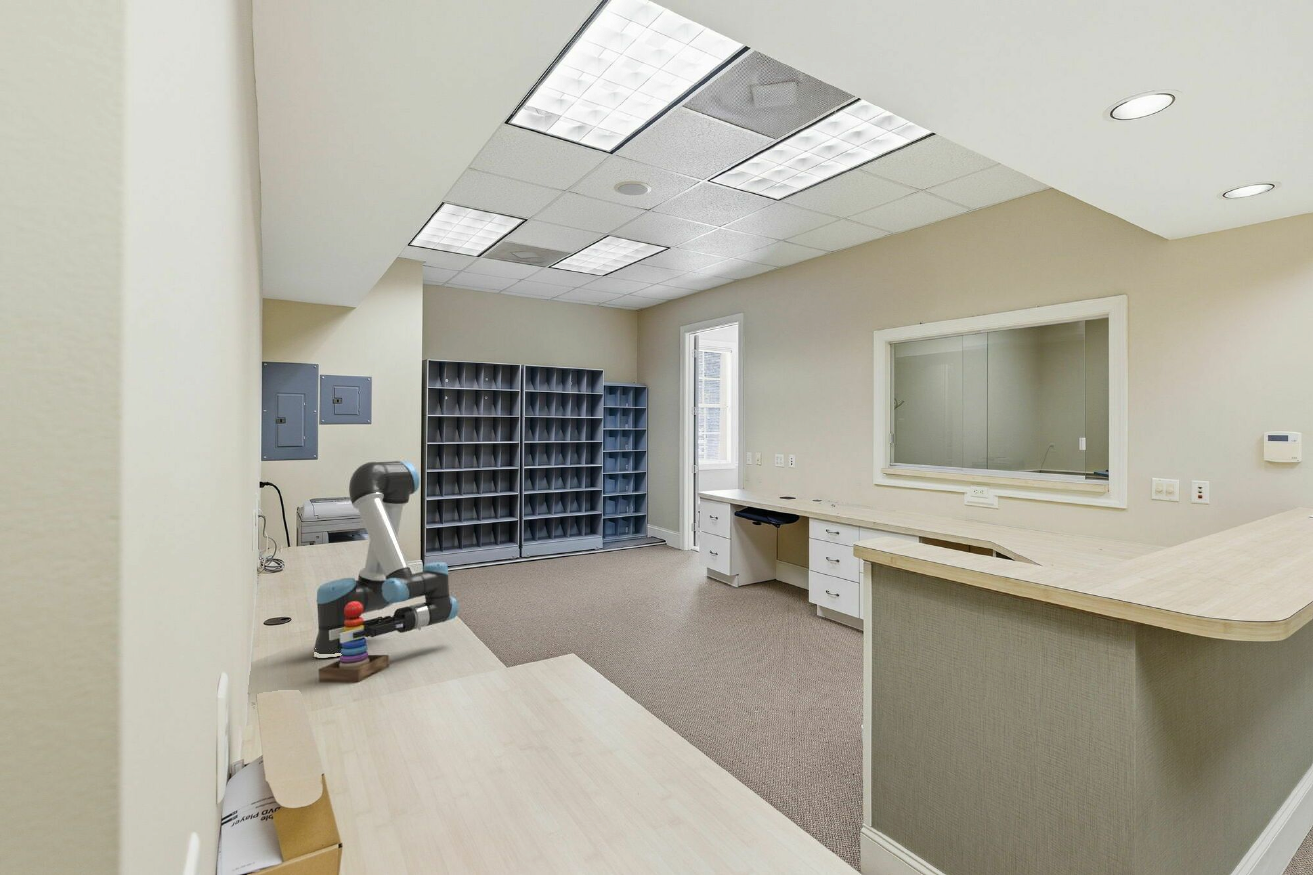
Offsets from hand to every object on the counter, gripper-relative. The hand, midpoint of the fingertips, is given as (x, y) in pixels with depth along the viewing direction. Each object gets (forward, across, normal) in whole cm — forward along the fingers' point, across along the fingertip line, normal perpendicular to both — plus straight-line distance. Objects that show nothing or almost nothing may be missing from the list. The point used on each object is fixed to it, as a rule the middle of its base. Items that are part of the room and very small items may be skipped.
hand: (335, 636), depth 178 cm
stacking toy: (-5, 0, -10) cm, 11 cm away
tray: (-5, 0, -12) cm, 13 cm away
